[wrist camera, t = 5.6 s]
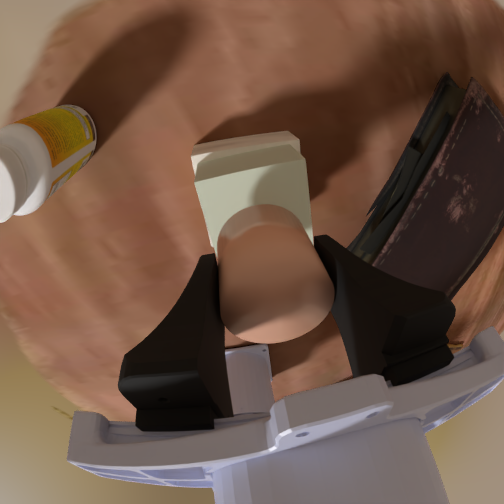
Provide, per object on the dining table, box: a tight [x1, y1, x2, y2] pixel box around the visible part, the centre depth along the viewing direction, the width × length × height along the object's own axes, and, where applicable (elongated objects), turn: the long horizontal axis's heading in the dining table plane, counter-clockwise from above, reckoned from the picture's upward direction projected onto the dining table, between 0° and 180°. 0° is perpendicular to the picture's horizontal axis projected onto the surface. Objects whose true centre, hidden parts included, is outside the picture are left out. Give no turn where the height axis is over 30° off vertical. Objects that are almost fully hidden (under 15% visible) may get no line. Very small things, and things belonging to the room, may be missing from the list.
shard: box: [447, 344, 463, 354], centre depth 45 cm, size 11×8×2 cm
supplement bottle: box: [0, 105, 97, 223], centre depth 13 cm, size 6×6×10 cm
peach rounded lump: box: [217, 204, 335, 344], centre depth 13 cm, size 5×5×4 cm
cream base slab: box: [191, 131, 300, 247], centre depth 21 cm, size 7×7×4 cm
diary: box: [346, 72, 504, 300], centre depth 24 cm, size 19×25×5 cm
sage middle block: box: [194, 144, 313, 256], centre depth 18 cm, size 6×6×4 cm
